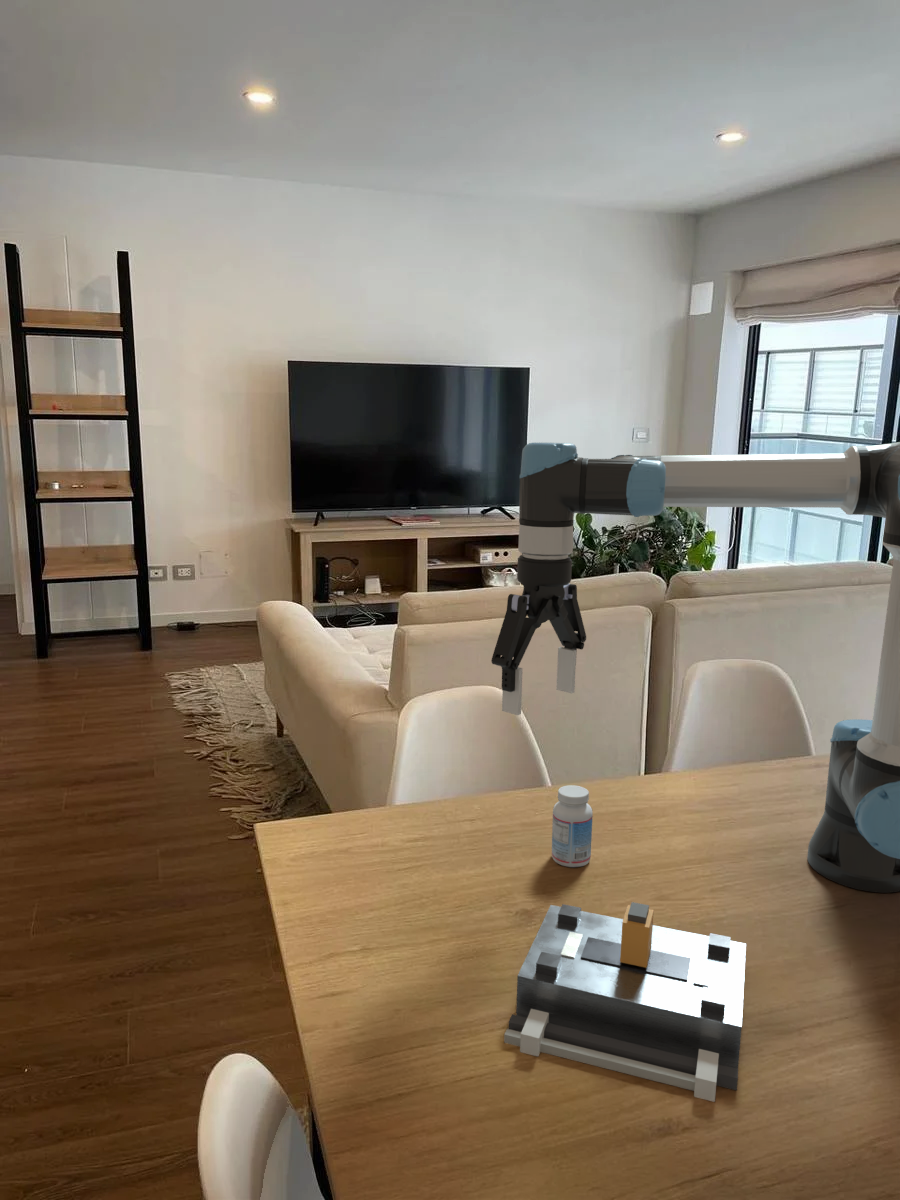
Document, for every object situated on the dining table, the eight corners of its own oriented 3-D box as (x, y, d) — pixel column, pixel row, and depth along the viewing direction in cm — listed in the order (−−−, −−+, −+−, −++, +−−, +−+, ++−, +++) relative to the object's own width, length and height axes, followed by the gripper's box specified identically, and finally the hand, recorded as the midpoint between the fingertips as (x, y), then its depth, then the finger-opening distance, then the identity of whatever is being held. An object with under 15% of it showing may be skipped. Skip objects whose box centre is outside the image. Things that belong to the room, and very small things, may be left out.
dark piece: (743, 962, 111) (745, 946, 110) (735, 1107, 87) (737, 1087, 87) (556, 924, 118) (556, 909, 118) (502, 1047, 95) (502, 1029, 94)
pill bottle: (589, 851, 139) (592, 784, 137) (591, 870, 133) (595, 800, 131) (550, 848, 140) (553, 781, 138) (551, 867, 134) (554, 798, 132)
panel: (742, 980, 107) (746, 934, 106) (738, 1069, 92) (742, 1016, 91) (549, 939, 115) (551, 896, 114) (516, 1015, 100) (517, 966, 99)
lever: (651, 948, 104) (654, 903, 103) (646, 967, 100) (649, 921, 99) (625, 943, 105) (628, 898, 104) (620, 962, 101) (622, 916, 100)
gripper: (570, 544, 134) (564, 678, 139) (467, 561, 116) (464, 716, 120) (614, 549, 130) (606, 688, 134) (513, 568, 111) (508, 729, 115)
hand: (539, 701), depth 127 cm, fingers open, 13 cm apart
